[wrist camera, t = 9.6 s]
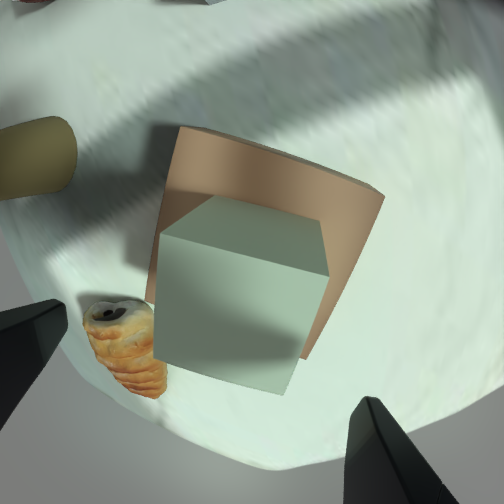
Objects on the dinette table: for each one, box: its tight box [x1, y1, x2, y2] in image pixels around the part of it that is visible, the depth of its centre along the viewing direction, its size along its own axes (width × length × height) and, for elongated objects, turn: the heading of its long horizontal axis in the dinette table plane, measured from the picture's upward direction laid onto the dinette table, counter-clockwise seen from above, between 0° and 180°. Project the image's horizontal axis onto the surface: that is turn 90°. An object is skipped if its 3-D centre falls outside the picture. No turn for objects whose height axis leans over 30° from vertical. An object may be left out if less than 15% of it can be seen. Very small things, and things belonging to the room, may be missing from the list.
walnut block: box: [144, 126, 385, 360], centre depth 17 cm, size 10×10×4 cm
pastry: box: [83, 300, 168, 399], centre depth 22 cm, size 9×7×4 cm
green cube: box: [153, 195, 330, 395], centre depth 12 cm, size 5×5×6 cm
